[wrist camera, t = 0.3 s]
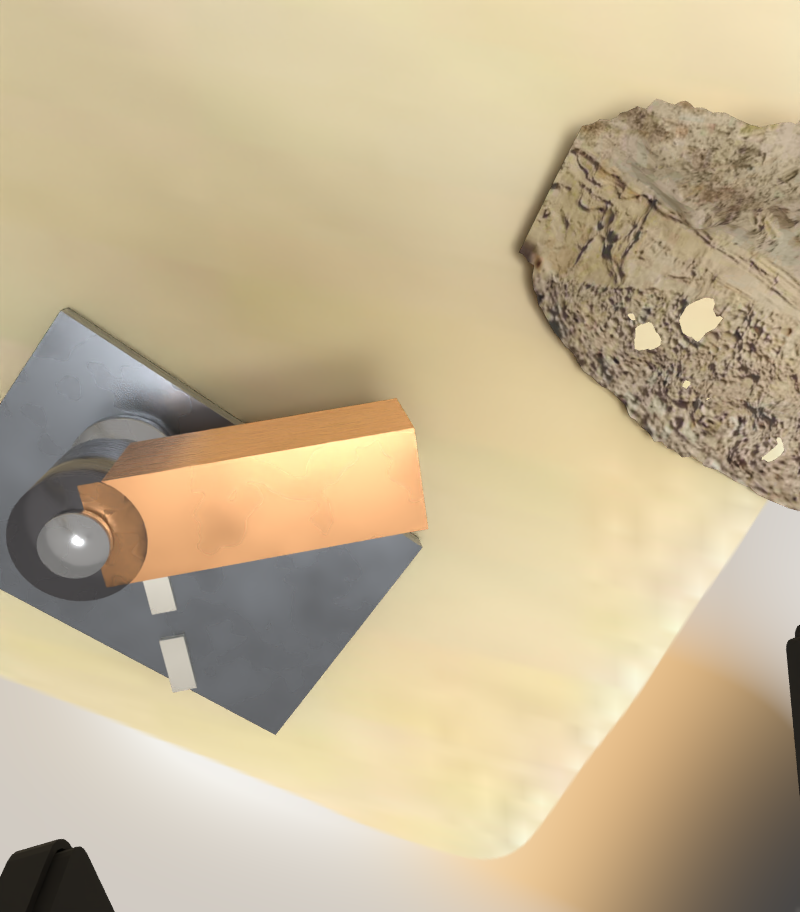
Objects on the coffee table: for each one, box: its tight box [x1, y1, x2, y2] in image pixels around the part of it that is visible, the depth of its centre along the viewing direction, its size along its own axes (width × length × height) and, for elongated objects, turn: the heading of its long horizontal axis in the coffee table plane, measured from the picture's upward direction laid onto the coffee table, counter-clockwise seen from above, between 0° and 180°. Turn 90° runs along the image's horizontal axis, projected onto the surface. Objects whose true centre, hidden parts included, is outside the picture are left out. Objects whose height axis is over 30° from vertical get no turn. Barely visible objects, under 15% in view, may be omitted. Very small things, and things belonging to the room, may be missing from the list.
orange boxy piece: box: [6, 398, 428, 601], centre depth 30 cm, size 15×5×6 cm, turn 98°
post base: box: [0, 308, 422, 735], centre depth 36 cm, size 20×13×4 cm
